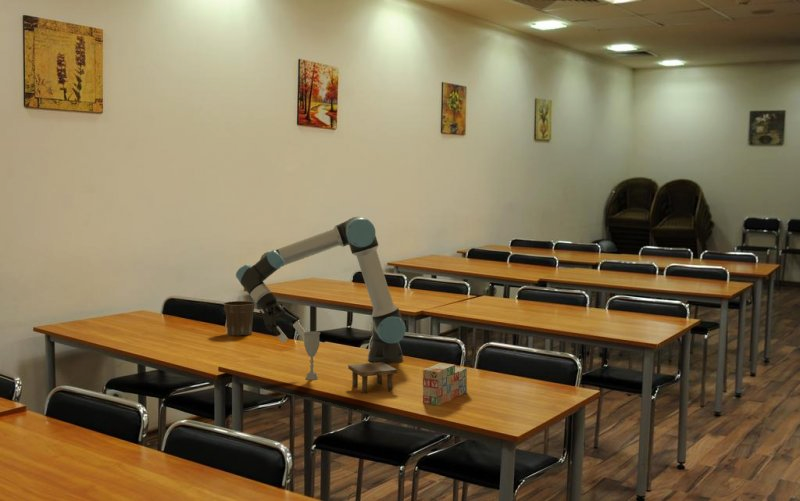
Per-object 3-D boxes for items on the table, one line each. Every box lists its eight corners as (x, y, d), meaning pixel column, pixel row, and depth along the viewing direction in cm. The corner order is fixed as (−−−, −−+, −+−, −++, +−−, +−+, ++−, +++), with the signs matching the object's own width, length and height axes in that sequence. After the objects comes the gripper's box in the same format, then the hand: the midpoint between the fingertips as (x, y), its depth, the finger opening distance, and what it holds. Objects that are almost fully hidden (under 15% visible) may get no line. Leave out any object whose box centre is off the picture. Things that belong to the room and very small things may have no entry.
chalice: (317, 380, 311) (317, 335, 310) (300, 379, 313) (300, 334, 311) (322, 376, 319) (322, 331, 317) (306, 375, 320) (306, 331, 319)
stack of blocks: (452, 390, 298) (452, 358, 297) (466, 393, 295) (467, 360, 294) (422, 403, 280) (422, 368, 279) (438, 406, 277) (438, 371, 276)
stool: (382, 382, 310) (382, 362, 309) (396, 390, 297) (397, 369, 296) (348, 385, 304) (348, 365, 303) (361, 394, 291) (361, 372, 290)
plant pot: (230, 330, 418) (229, 300, 417) (259, 331, 416) (259, 301, 415) (218, 336, 402) (218, 304, 401) (249, 337, 400) (249, 305, 399)
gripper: (276, 300, 335) (306, 338, 330) (239, 308, 313) (271, 349, 307) (287, 288, 332) (317, 327, 327) (250, 295, 310) (282, 337, 305)
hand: (295, 338), depth 317 cm, fingers open, 13 cm apart
